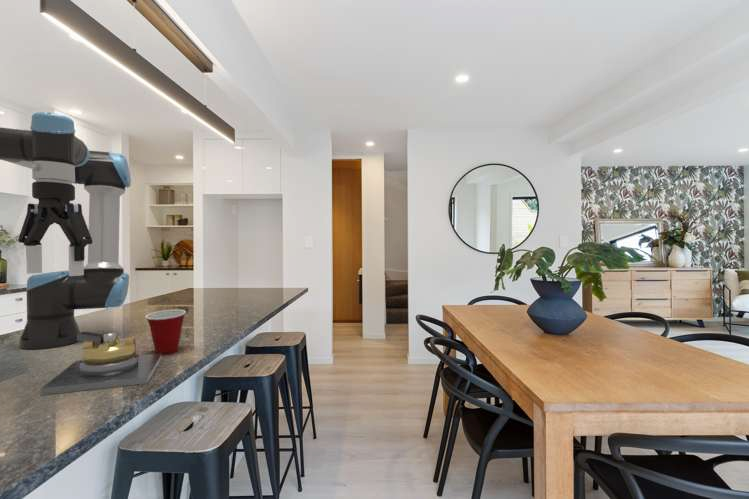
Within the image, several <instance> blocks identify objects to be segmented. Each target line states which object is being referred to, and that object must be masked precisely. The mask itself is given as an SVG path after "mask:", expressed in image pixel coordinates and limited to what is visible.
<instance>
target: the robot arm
mask: <svg viewBox="0 0 749 499" xmlns="http://www.w3.org/2000/svg"><path fill="white" fill-rule="evenodd" d="M29 128H30V130H29V129H18V128H17V129H16V128H8V127H2V126H1V127H0V160H1V161H4V162H8V163H11V164H15V165H18V166H21V167H24V168H27V169H31V171H32V172H31V178H32V180H34V181H33V182H32V183H31V196H32V199H33V198H34V199H35V200H38V203H28V204H27V207H26V208H27V209H26V216H25V218H24V221H23V225H22V227H21V230H20V233H19V235H18V240H17V241H18V242H19V243H20V244H21V243H22V244H23V245H24V246H25V254H26V255H25V256H26V274H29V275H30V274H32V275H31V276H29V277H28V279H27V280H26V289H25V291H26V323H25V326H24V329H23V331H22V332H21V336H20V338H19V341H18V342H19V343H18V344H19V348H20V349H23V350H24V349H25V350H39V349H50V348H57V347H63V346H67V345H72V344H75V343H78V342H79V341H77V333H81V332H82V331H81V330H80V327H79V325H78V322H77V320H76V317H75V310H92V309H93V310H94V309H109V308H117V307H121V306H122V305H123V304H124V303H125V301H126V298H127V296H128V292H129V285H130V284H129V283H130V275H129V274H128V272H127V273H126V272H124V268H125V267H123V266H122V265H121V264H120V263H119V262H120V261H119V260H120V259H119V257H120V256H119V254H120V253H119V251H120V250H119V249H120V213H121V212H120V208H121V204H120V203H121V196H122V195H124V194H125V193H126V188H130V187H131V185H132V184H131V183H132V180H131V172H130V167H129V164H128V160H127V158H126V157H125V155H123V154H122V153H117V152H111V151H99V150H98V151H97V150H89V148H88V146H87V145H86V144H85V142H84V141H83V140H82V139H79V138H78V137H77V136H76V135H75V133H76V128H75V122H74V120H73V118H71V117H69V116H66V115H63V114H59V113H55V112H50V111H49V112H48V111H47V112H46V111H37V112H34V113H33V114H32V115H31V122H30V127H29ZM74 184H76V185H83V186H84V188H83V189H84V190H85V191H86V192H87V193H88V194H89V201H88V202H89V204H88V225H87V223H86V219H85V217H84V215H83V209H82V203H75V202H72V201H75V200H76V186H74ZM54 224H56V225H58V226H59V227H60V229H61V230H62V232H63V233H64V235H65V237H66V239H67V240H68V242H69V245H68V270H59V271H51V272H44V273H43V253H42V252H43V249H42V248H43V247H42V245H43V244H42V242H41V241H42V239H43V238H44V236H45V234H46V233H47V232H48V229H49V228H50V227H51V225H54ZM85 247H87V264H85V265H84V263H85V258H86V256H85V254H86V253H85Z"/></svg>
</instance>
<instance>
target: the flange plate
mask: <svg viewBox="0 0 749 499" xmlns="http://www.w3.org/2000/svg"><path fill="white" fill-rule="evenodd" d="M162 359H163V354H162V353H160V354H156V353H152V354H151V353H150V354H141V355H140V354H139V353H137V352H136V355H135V356H134V357H132V358H130V359H127V360H123V361H119V362H114V363H108V364H85V363H83V362H82V359H80V360H76V361H74V362H73V363H72V364H70V365H69V366H68V367H67V368H65V369H64V370H63V371H61V372H60V373H59V374H58V375H56V376H55V377H53V379H51V380H50V381H49V382H47V383H46V384H45V385H43V387H41V388H40V390H41V392H40V395H41V396H46V395H55V394H64V393H74V392H83V391H90V390H92V391H93V390H100V389H107V388H108V389H110V388H117V387H118V388H119V387H128V386H129V387H130V386H136V385H137V386H138V385H145V384H149V382H150V381H149V380H151V379H152V377H153V375H154V374H155V371H156V370H157V368H158V367H159V364H160V363H161V361H162Z"/></svg>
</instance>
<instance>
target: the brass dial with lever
mask: <svg viewBox="0 0 749 499" xmlns="http://www.w3.org/2000/svg"><path fill="white" fill-rule="evenodd" d="M80 332H81V333H77V341H78V342H82V343H83V344H82V346H83V347H82V348H81V360H82V362H83V363H85V364H108V363H114V362H119V361H123V360H127V359H130V358H132V357H134V356H135V355H136V353H137V341H136V337H135V336H133V337H126V338H125V339H121V335H120V334H117V332H114V331H113V332H112V331H111V332H106V333H103V334H101V333H97V332H96V333H95V332H91V331H90V332H89V331H80Z"/></svg>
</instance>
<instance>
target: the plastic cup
mask: <svg viewBox="0 0 749 499" xmlns="http://www.w3.org/2000/svg"><path fill="white" fill-rule="evenodd" d="M186 314H187V311H186V310H184V309H176V308H175V309H164V310H163V309H162V310H157V311H154V312H151V313H148V314H146V315H145V316H144V317H145V319H146V320H147V322H148V325H149V327H150V328H149V329H150V333H151V338H152V343H153V348H154V351H155V354H160V353H162V355H168V354H173V353H176V352H177V351H178V349H179V345H180V344H179V342H180V340H181V334H182V329H183V328H182V327H183V322H184V317H185V315H186Z"/></svg>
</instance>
